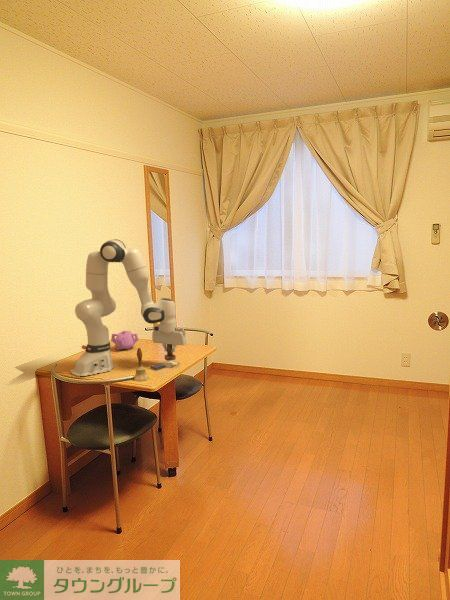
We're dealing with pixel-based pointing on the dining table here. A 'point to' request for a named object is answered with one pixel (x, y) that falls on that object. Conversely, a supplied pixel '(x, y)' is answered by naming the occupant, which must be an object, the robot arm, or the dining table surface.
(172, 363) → the marked card
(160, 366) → the ink pad
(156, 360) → the dining table surface
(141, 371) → the hand bell
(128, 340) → the pot
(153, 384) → the dining table surface
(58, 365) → the dining table surface
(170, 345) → the stamp
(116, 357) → the dining table surface
